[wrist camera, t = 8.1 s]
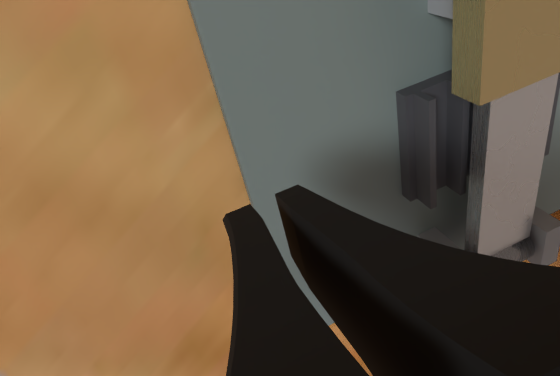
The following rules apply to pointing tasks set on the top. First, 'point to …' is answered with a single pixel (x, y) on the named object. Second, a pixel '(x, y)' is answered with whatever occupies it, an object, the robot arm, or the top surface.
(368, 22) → the clip base
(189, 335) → the top surface
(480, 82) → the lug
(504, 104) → the strap
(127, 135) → the top surface
